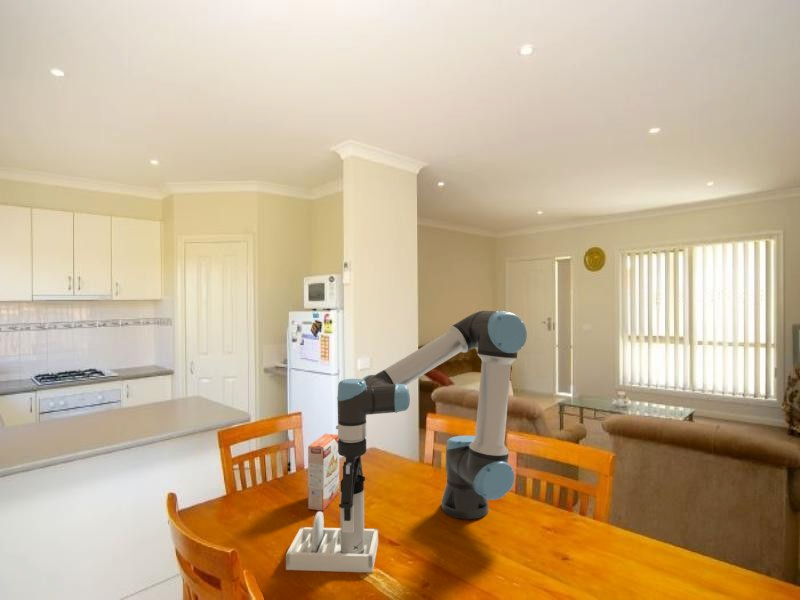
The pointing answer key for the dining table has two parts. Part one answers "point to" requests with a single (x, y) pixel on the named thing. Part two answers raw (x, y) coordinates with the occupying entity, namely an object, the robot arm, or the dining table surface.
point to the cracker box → (323, 471)
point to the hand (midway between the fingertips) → (352, 518)
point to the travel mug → (355, 521)
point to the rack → (329, 550)
